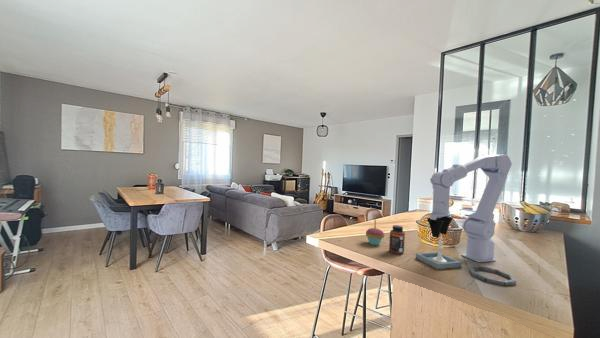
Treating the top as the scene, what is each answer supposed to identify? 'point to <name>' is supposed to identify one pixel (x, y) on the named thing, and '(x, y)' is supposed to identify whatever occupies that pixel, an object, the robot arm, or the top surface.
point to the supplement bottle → (397, 240)
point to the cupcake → (374, 235)
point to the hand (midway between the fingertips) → (439, 235)
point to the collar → (490, 280)
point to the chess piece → (439, 252)
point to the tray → (428, 260)
